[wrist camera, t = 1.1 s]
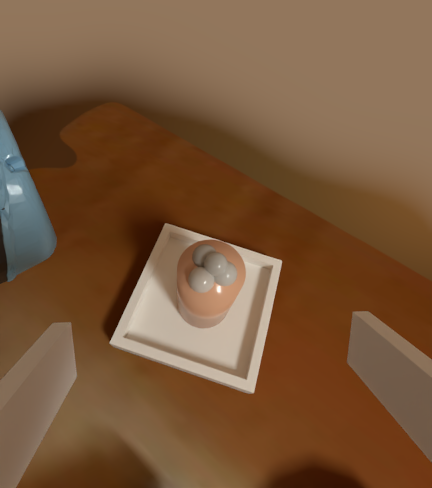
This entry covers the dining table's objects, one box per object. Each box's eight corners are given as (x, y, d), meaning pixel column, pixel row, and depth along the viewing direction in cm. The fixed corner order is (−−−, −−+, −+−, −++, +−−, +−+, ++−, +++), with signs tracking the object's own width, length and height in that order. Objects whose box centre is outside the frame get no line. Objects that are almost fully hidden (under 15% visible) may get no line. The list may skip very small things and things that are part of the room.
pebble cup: (169, 318, 35) (165, 281, 25) (187, 270, 38) (191, 219, 28) (220, 335, 35) (240, 306, 24) (235, 286, 38) (258, 241, 27)
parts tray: (113, 347, 34) (109, 343, 32) (166, 232, 42) (165, 222, 39) (248, 393, 33) (253, 393, 31) (276, 268, 41) (282, 260, 39)
